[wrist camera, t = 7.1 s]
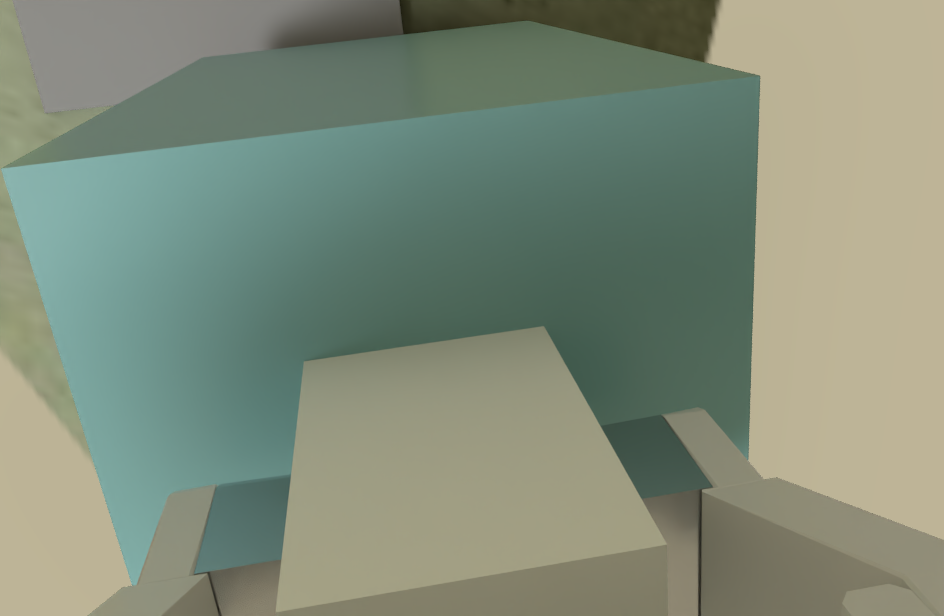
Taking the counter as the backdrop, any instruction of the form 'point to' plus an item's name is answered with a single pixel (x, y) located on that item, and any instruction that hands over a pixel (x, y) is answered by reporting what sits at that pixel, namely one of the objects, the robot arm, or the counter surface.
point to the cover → (408, 304)
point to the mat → (173, 38)
